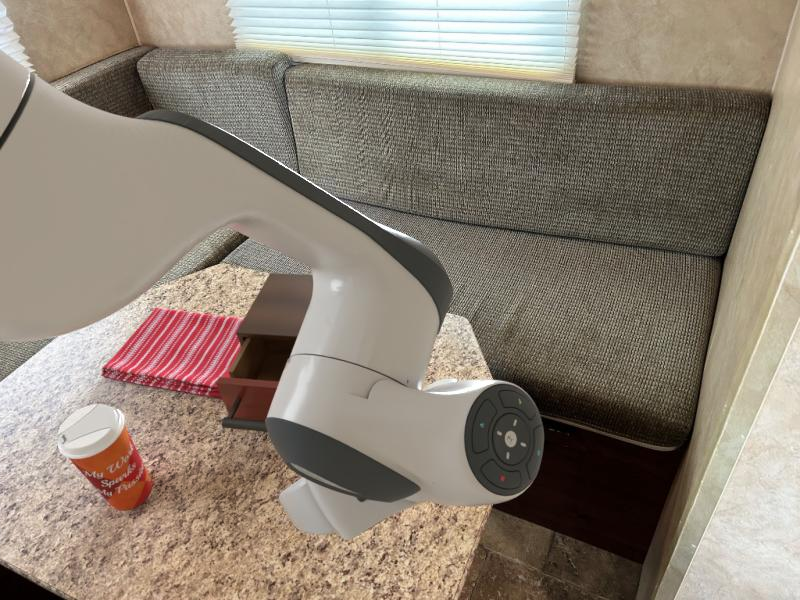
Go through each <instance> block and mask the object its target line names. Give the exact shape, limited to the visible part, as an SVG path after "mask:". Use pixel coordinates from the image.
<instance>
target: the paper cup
mask: <svg viewBox="0 0 800 600" xmlns="http://www.w3.org/2000/svg"><path fill="white" fill-rule="evenodd" d="M125 419H126V416H125V414H124V412H122V410H120V409H119V408H116V407H114V406H110V405H107V404H103V403H93V404H89V405H86V406H84V407H81V408H79V409H77V410H75V411H74V412H73V413H71V414H70V415H69V416H67V417H66V419H64V421H63V422H62V423H61V424H60V427H59V429H58V431H57V439H58V440H57V448H58V451H59V453H60V455H62V456H63V457H65V458H68V459H69V461H70V462H71V463H72V464H73V465H74V466H75V467H76V469H77V470H78V471H79V472H80V473H81V474H82V475H83V476H84V478H86V480H87V481H89V482H90V484H91V485H92V487H94V489H96V491H97V492H98V493H99V494H100V495H101V496H102V498H103V499H105V501H106V502H107V503H108V504H109V505H110V506H111V508H113V509H115V510H118V511H129V510H132V509H135V508H137V507H138V506H140V505H141V504H143V502H145V501H146V500H147V499H148V497H150V495H151V492H152V489H153V483H152V479H151V477H150V474H149V472H148V470H147V467H146V466H145V463H144V461H143V459H142V457H141V455H140V453H139V451H138V450H137V447H136V445H135V443H134V442H133V438H132V437H131V435H130V434H129V430H128V429H127V427H126V425H125Z"/></svg>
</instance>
